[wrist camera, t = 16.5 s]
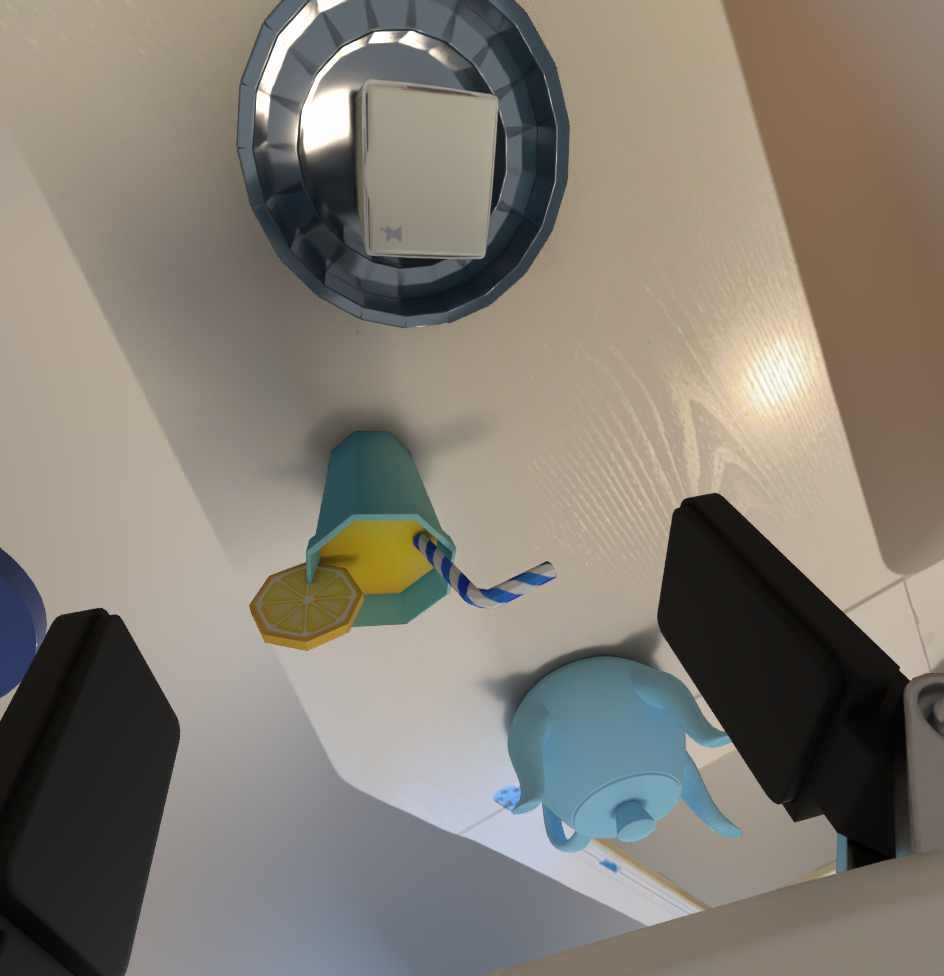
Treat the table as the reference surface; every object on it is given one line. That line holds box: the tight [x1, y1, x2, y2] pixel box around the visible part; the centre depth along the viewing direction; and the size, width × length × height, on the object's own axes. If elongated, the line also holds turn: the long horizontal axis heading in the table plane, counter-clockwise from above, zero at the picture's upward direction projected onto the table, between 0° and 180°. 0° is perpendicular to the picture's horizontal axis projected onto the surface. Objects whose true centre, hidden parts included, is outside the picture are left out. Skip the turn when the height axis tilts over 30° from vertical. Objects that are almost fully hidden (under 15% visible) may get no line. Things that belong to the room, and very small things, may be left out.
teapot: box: [508, 656, 742, 853], centre depth 51 cm, size 17×19×12 cm
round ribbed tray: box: [236, 0, 570, 328], centre depth 26 cm, size 13×13×6 cm
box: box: [354, 78, 499, 259], centre depth 23 cm, size 5×4×11 cm
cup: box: [249, 431, 557, 651], centre depth 31 cm, size 14×8×15 cm, turn 105°
